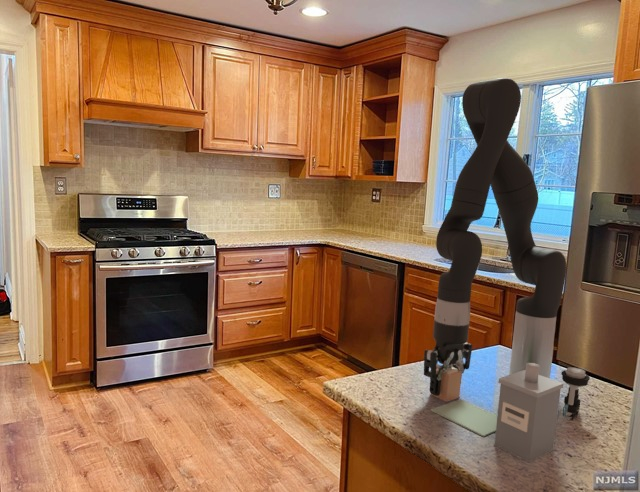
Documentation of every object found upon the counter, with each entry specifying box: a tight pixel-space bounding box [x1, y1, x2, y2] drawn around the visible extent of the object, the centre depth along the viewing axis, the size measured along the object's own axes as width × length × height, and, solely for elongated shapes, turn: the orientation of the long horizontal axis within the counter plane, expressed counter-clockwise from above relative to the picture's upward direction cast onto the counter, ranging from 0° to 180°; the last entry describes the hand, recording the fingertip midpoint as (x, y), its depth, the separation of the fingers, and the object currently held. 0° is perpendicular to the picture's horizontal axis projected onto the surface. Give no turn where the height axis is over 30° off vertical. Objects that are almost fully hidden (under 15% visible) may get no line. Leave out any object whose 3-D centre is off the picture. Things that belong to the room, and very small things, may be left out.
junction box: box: [493, 363, 565, 463], centre depth 95 cm, size 9×8×16 cm
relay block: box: [430, 364, 463, 403], centre depth 117 cm, size 4×4×8 cm
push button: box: [560, 366, 591, 421], centre depth 109 cm, size 7×5×10 cm
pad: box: [430, 398, 498, 438], centre depth 107 cm, size 10×13×1 cm
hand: (445, 391), depth 117 cm, fingers open, 6 cm apart
